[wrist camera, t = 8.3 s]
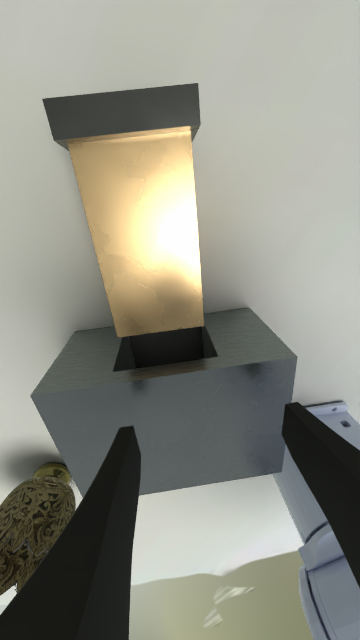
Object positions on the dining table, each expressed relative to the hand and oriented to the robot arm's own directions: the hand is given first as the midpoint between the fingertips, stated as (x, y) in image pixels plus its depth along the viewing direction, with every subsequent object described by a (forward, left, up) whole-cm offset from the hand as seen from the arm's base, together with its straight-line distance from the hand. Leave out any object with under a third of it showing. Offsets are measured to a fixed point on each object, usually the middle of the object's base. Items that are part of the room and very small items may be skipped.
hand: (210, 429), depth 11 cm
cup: (+16, +14, -9) cm, 23 cm away
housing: (+2, +3, -9) cm, 10 cm away
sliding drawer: (+2, -8, -9) cm, 13 cm away
